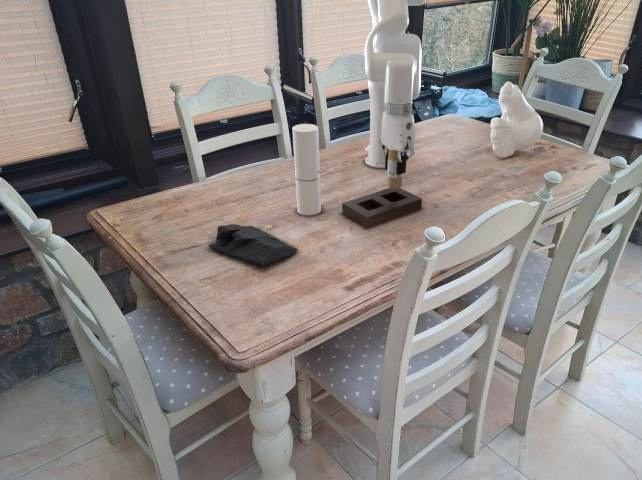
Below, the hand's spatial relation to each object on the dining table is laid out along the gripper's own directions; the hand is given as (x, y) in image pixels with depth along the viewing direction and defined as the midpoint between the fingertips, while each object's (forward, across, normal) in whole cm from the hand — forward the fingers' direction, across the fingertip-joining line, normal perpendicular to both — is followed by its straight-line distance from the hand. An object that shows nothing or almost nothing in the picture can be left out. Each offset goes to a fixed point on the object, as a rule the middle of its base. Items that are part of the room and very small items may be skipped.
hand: (395, 170), depth 157 cm
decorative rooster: (+12, +11, -66) cm, 68 cm away
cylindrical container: (+12, +14, +22) cm, 28 cm away
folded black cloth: (+12, +3, +46) cm, 48 cm away
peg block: (+12, 0, +4) cm, 13 cm away
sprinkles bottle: (+5, 0, 0) cm, 5 cm away
